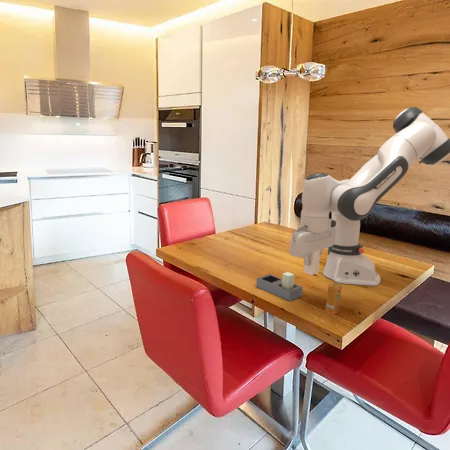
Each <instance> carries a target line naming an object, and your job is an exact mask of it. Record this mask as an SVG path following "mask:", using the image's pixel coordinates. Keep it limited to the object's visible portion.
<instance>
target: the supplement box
mask: <svg viewBox="0 0 450 450" xmlns="http://www.w3.org/2000/svg"><path fill="white" fill-rule="evenodd" d="M342 288H343V285H341V284H340V283H337V282H332V283H330V284H328V288H327V293H326V302H325V303H326V304H325V311H324V312H325V313H328V314H330V315H333V316H335V315H336V314H338V313H339V310H340V303H341V298H342V297H341V296H342Z"/></svg>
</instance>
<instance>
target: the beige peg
mask: <svg viewBox="0 0 450 450" xmlns="http://www.w3.org/2000/svg"><path fill="white" fill-rule="evenodd" d="M281 279H282V288H285V289H287V290H290V289H293V288H294V284H295V274H294V273H292V272H289V271H286V272H284V273H282V275H281Z"/></svg>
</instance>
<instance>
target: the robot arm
mask: <svg viewBox="0 0 450 450" xmlns="http://www.w3.org/2000/svg"><path fill="white" fill-rule="evenodd" d="M392 128H393V130H394V132H395V134H393V135H392V136H391V137H390V138H389V139H387V140H386V141H385V142H383V144H381V146H380V147H379V148H378V151H377V154H376V155H374V156H373V157H372V158H371V159H369V160H368V161H367V162H365V163H364V164H363V165H362V167H360V168H359V170H357V172H356V173H355V174H354V175H353V176H352V177H351V178H350V179H343V180H338V179H335V178H334V177H333V176H331V175H330V174H329V173H326V172H315V173H311V174H309V175H307V176H306V177H305V179H304V181H303V187H302V192H301V193H302V194H301V204H302V207H301V208H302V209H301V212H300V225H299V227H296V228H295V230H293V232H292V234H291V237H290V241H289V242H290V243H289V250H288V252H289V255H290V256H293V257H295V258H300V257H302V260H303V266H304V265H305V266H309V265H311V260H309V256H310V253H313V252H315V251H318V250H320V258H319V262H320V261H321V260H320V259H321V256H322V254H323V251H324V250H325V249H327V258H326V259H327V260H326V262H325V266H324V268H323V271H322V274H323V275H324V277H326V278H328V279H330V280H332V281H334V283H337V284H345V285H355V286H356V285H357V286H358V285H359V286H371V287H372V286H373V287H376V286H379V285H380V284H381V275H380V274H379V273H377V272H376V266H375V263H374V262H373V261H372V260H371V259H370V258H369V257H368V256H366V255H365V253H364V252H365V248H364V245H363V244H360V243H359V239H360V230H361V229H360V228H361V220H363V219H365V218H367V217H368V216H369V215H370V214H371V212H372V211H373V209H374V208H375V207H376V205H377V204H378V202H379V201H380V200H381V199H382V197H384V196H385V195H386V194H387V193H388V192H390V190H391V189H393V187H394V186H395V185H396V184H398V183H399V182H400V180H402V178H404V176H405V175H406V173H407V172H408V170H409V168H410V167H411V166H413V164H415V162H417V161H418V160H419V159H420V161H418V164H425V165H430V166H432V165H433V166H434V165H436V164H439V163H442V162H443V161H445V160H446V159H447V158H448V157H449V156H450V138H449V137H448V135H446V133H445V131H444V130H443V129H442V128H441V126H439V125H438V124H436V122H434V121H433V120H432V118H430V116H427V115H426V114H425V113H424V111H423V110H422V109H420V108H419V107H416V106H410V107H408V108H405V109H404V110H402V111H401V112H399V113H398V114H397V116H396V117H395V119H394V120H393V123H392ZM330 213H331V218H330Z"/></svg>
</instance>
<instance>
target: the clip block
mask: <svg viewBox="0 0 450 450" xmlns="http://www.w3.org/2000/svg"><path fill="white" fill-rule="evenodd" d="M319 258H320V259H321V257H320V250H318V251H315V252H313V253H310V256H309V260H311V265H309V266H305V265H304V264H303V273H305V274H308V275H311V276H314V275H316V274H319V271H320V270H319V269H320V261H319Z"/></svg>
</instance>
